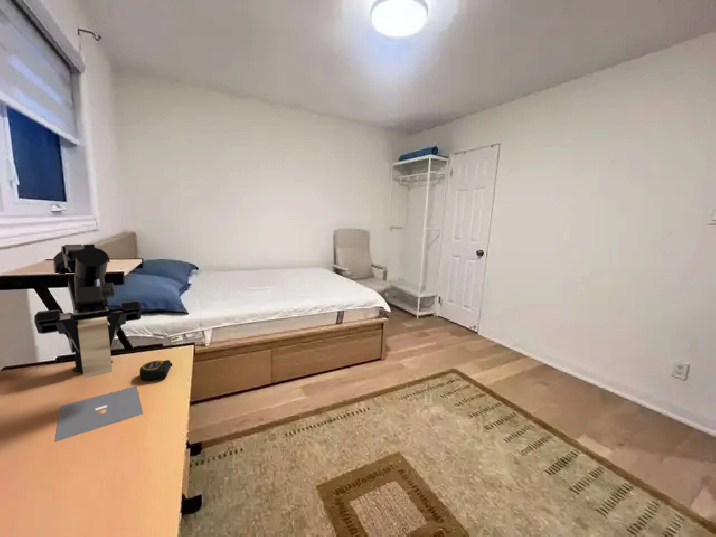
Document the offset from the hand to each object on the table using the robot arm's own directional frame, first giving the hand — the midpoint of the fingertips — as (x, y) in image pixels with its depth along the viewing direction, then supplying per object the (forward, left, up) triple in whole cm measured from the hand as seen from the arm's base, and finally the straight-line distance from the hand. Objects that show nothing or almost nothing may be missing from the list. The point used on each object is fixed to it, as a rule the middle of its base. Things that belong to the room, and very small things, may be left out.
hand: (95, 348), depth 70 cm
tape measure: (-13, +4, -14) cm, 20 cm away
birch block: (-1, -1, -6) cm, 6 cm away
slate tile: (+3, +3, -13) cm, 14 cm away
